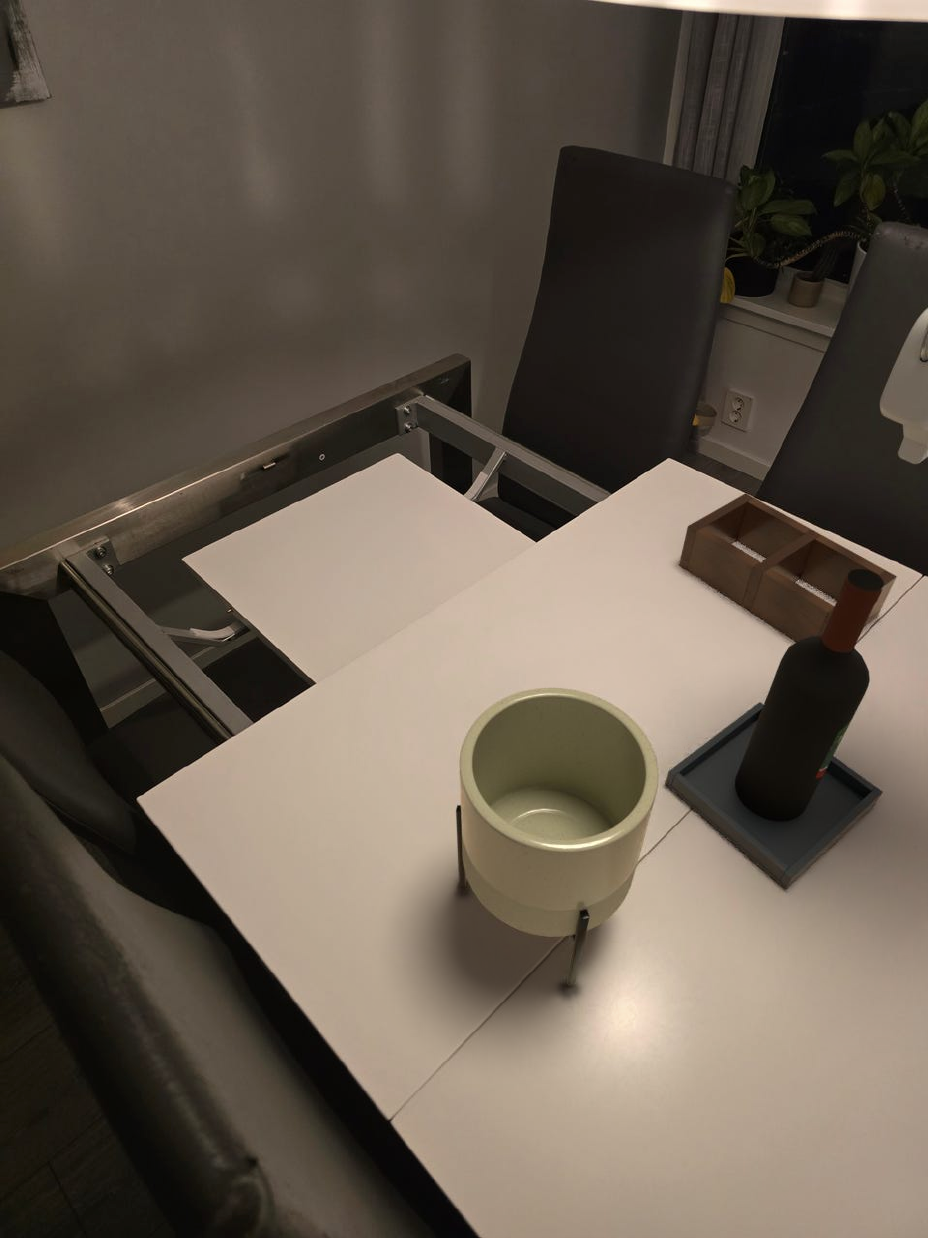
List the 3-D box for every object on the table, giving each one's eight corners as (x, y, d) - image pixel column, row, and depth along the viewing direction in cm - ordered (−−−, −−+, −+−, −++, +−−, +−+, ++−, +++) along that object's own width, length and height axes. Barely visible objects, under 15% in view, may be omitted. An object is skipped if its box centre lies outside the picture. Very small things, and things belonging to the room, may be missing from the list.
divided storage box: (877, 616, 104) (897, 576, 99) (821, 658, 99) (839, 618, 94) (734, 531, 117) (745, 492, 113) (678, 565, 112) (687, 525, 107)
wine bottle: (731, 758, 87) (808, 547, 66) (801, 765, 86) (902, 553, 66) (738, 817, 82) (825, 607, 61) (814, 825, 81) (928, 615, 60)
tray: (875, 804, 83) (883, 791, 82) (785, 889, 77) (792, 877, 75) (754, 714, 92) (759, 701, 91) (664, 784, 86) (668, 771, 84)
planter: (656, 895, 76) (703, 754, 60) (551, 1018, 68) (573, 893, 52) (538, 801, 84) (551, 655, 68) (431, 902, 76) (418, 763, 60)
